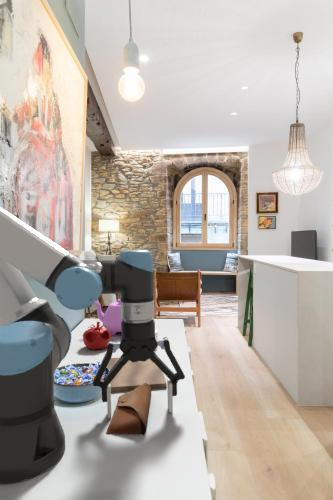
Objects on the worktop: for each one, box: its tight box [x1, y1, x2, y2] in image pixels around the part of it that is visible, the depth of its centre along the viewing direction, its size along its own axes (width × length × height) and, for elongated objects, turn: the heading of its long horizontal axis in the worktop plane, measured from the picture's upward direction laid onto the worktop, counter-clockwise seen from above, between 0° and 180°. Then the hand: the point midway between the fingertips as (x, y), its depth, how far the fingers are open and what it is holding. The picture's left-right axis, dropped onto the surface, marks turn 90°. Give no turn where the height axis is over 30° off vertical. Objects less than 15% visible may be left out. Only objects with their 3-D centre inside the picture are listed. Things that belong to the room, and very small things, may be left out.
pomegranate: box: [82, 321, 112, 351], centre depth 127 cm, size 10×10×9 cm
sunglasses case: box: [105, 383, 152, 436], centre depth 80 cm, size 18×7×7 cm, turn 0°
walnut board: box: [107, 357, 167, 393], centre depth 102 cm, size 16×22×1 cm
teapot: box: [93, 298, 123, 336], centre depth 147 cm, size 22×16×14 cm
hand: (140, 412), depth 80 cm, fingers open, 13 cm apart
